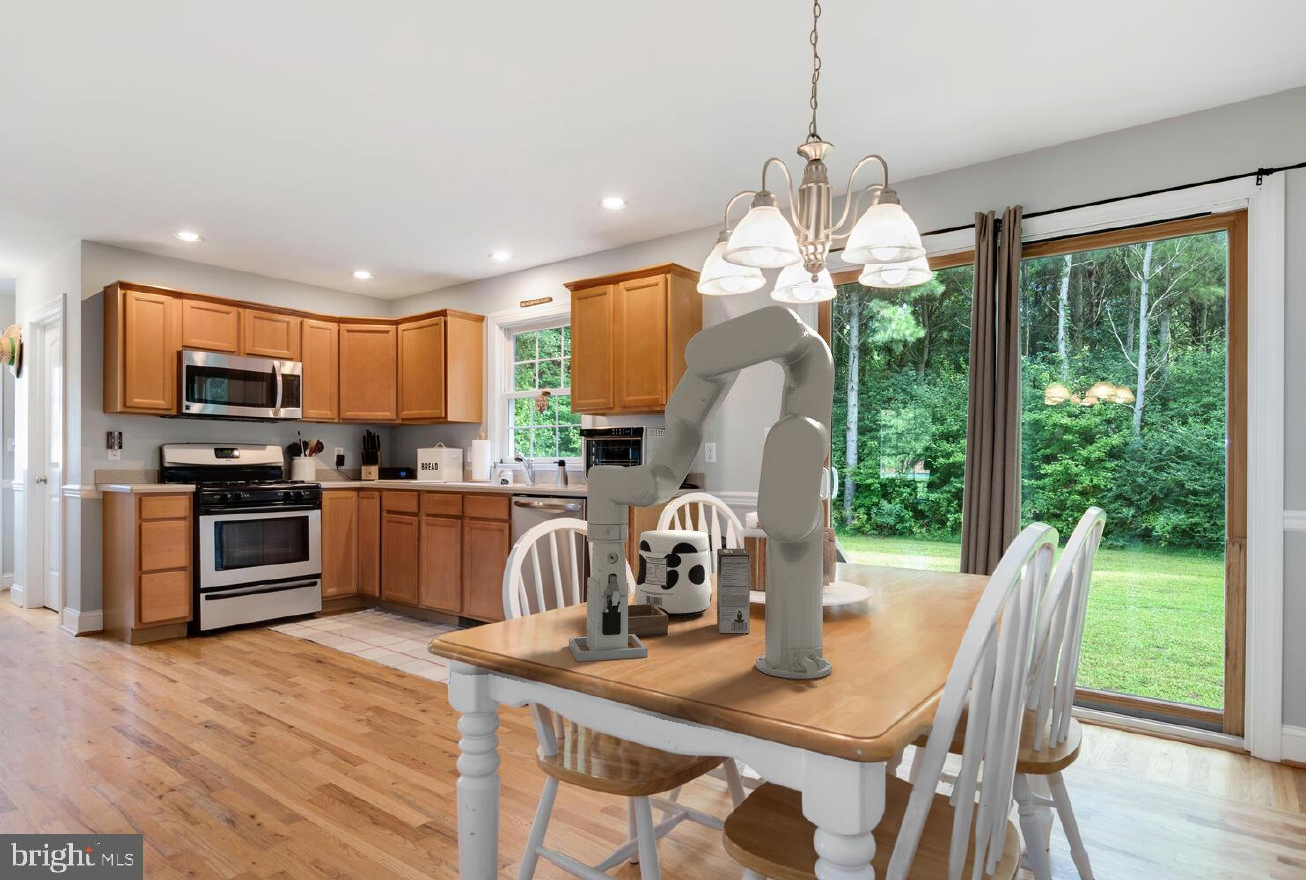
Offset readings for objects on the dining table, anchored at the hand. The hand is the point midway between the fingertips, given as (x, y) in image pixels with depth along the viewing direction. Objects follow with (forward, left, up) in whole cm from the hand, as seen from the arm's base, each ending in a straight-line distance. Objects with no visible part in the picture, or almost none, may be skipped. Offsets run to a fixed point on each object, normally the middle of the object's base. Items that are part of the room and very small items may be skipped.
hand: (606, 628), depth 136 cm
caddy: (+14, -8, -4) cm, 16 cm away
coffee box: (+11, -29, -4) cm, 31 cm away
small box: (0, 0, -4) cm, 4 cm away
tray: (0, 0, -4) cm, 4 cm away
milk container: (+28, -21, -4) cm, 35 cm away
